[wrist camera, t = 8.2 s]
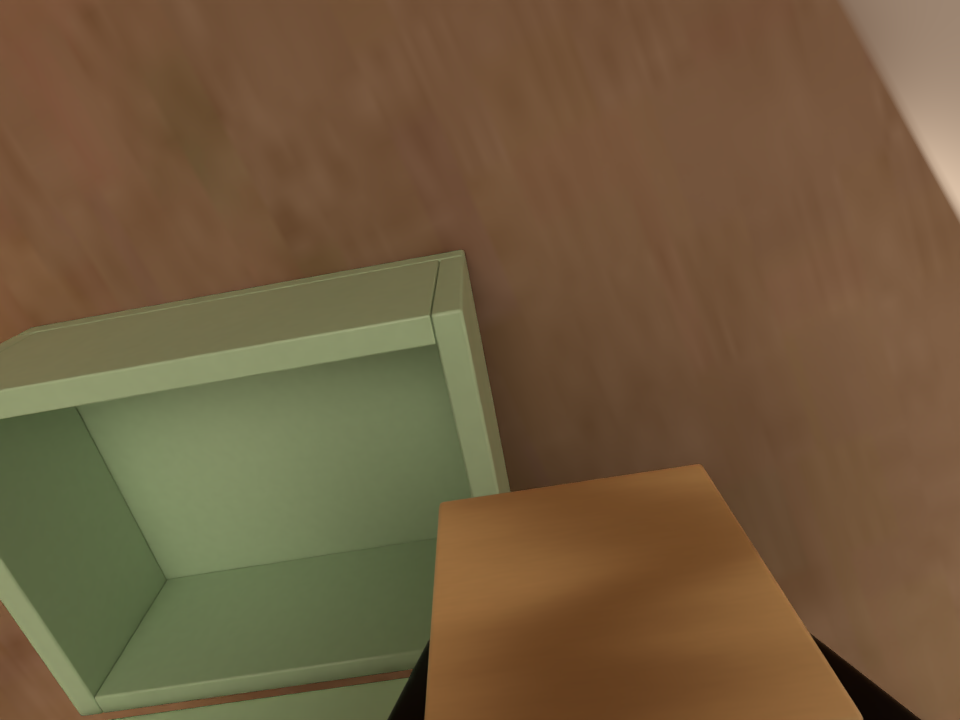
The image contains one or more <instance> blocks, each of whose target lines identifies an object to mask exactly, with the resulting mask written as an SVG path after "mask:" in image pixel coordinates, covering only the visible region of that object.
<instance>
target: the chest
mask: <svg viewBox="0 0 960 720" xmlns="http://www.w3.org/2000/svg"><path fill="white" fill-rule="evenodd" d="M506 492H510V487H509V482H508V476H507V471H506V466H505V461H504V456H503V450H502V445H501V440H500V435H499V430H498V424H497V419H496V414H495V409H494V403H493V398H492V393H491V388H490V383H489V377H488V372H487V367H486V362H485V357H484V351H483V346H482V341H481V336H480V330H479V325H478V320H477V315H476V310H475V304H474V299H473V294H472V289H471V283H470V278H469V273H468V268H467V263H466V257H465V252H464V251H463V250H457V251H452V252H446V253H441V254H435V255H430V256H424V257H419V258H413V259H408V260H402V261H397V262H391V263H386V264H380V265H375V266H369V267H364V268H358V269H352V270H347V271H341V272H336V273H330V274H325V275H319V276H314V277H308V278H303V279H297V280H292V281H286V282H281V283H275V284H270V285H264V286H259V287H253V288H248V289H242V290H237V291H231V292H225V293H220V294H214V295H209V296H203V297H198V298H192V299H187V300H181V301H176V302H170V303H165V304H159V305H154V306H148V307H143V308H137V309H132V310H126V311H121V312H115V313H110V314H104V315H99V316H93V317H87V318H82V319H76V320H71V321H65V322H60V323H54V324H49V325H43V326H38V327H32V328H30V329H28V330H26V331H24V332H22V333H20V334H19V335H17V336H14V337H12V338H11V339H9V340H7V341H5V342H3V343H1V344H0V600H1V601H2V603H3V604H4V605H5V607H6V608H7V610H8V611H9V613H10V614H11V616H12V617H13V618H14V620H15V621H16V623H17V624H18V626H19V627H20V628H21V630H22V631H23V633H24V634H25V636H26V637H27V639H28V640H29V641H30V643H31V644H32V646H33V647H34V649H35V650H36V651H37V653H38V654H39V656H40V657H41V659H42V660H43V662H44V663H45V664H46V666H47V667H48V669H49V670H50V672H51V673H52V674H53V676H54V677H55V679H56V680H57V682H58V683H59V685H60V686H61V687H62V689H63V690H64V692H65V693H66V695H67V696H68V697H69V699H70V700H71V702H72V703H73V705H74V706H75V708H76V709H77V710H78V712H79V713H80V715H82V716H86V715H93V714H100V713H103V712H105V713H107V712H114V711H121V710H128V709H135V708H142V707H149V706H156V705H163V704H170V703H177V702H184V701H191V700H198V699H205V698H212V697H219V696H226V695H233V694H241V693H248V692H255V691H262V690H269V689H276V688H283V687H290V686H297V685H304V684H311V683H318V682H325V681H332V680H339V679H346V678H353V677H360V676H367V675H374V674H381V673H388V672H396V671H403V670H410V669H414V667H415V665H416V663H417V661H418V659H419V657H420V655H421V653H422V652H423V650H424V648H425V646H426V644H427V642H428V640H429V639H430V630H431V616H432V601H433V587H434V572H435V558H436V543H437V529H438V514H439V505H440V503H442V502H446V501H453V500H459V499H466V498H473V497H479V496H486V495H493V494H499V493H506Z"/></svg>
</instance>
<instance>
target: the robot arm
mask: <svg viewBox="0 0 960 720" xmlns="http://www.w3.org/2000/svg"><path fill="white" fill-rule="evenodd" d="M810 635H811V636H812V638H813V640H814V641H815V643H816V644H817V646H818V647H819V649H820V651H821V652H822V654H823V655H824V657H825V658H826V660H827V661H828V663H829V665H830V666H831V668H832V669H833V671H834V672H835V674H836V676H837V677H838V679H839V680H840V682H841V683H842V685H843V686H844V688H845V690H846V691H847V693H848V694H849V696H850V697H851V699H852V701H853V702H854V704H855V705H856V707H857V708H858V710H859V712H860V713H861V715H862V717H863V720H920V719H919V718H918V717H917V716H915V715H914V714H913V713H912V712H910V711H909V710H908V709H906V708H905V707H904V706H903V705H901V704H900V703H899V702H897V701H896V700H895V699H894V698H892V697H891V696H890V695H888V694H887V693H886V692H885V691H883V690H882V689H881V688H879V687H878V686H877V685H876V684H874V683H873V682H872V681H871V680H869V679H868V678H867V677H865V676H864V675H863V674H862V673H860V672H859V671H858V670H856V669H855V668H854V667H853V666H851V665H850V664H849V663H847V662H846V661H845V660H844V659H842V658H841V657H840V656H839V655H837V654H836V653H835V652H833V651H832V650H831V649H830V648H828V647H827V646H826V645H824V644H823V643H822V642H821V641H819V640H818V639H817V638H815V637H814V636H813V635H812V634H810ZM429 645H430V639H429V640H428V642H427V644H426V646H425V648H424V650H423V652H422V653H421V655H420V657H419V659H418V661H417V663H416V665H415V667H414V669H413V671H412V673H411V675H410V677H409V679H408V680H407V682H406V684H405V686H404V688H403V690H402V692H401V694H400V696H399V698H398V700H397V702H396V704H395V706H394V707H393V709H392V711H391V713H390V715H389V717H388V719H387V720H424V718H425V703H426V688H427V674H428V659H429Z"/></svg>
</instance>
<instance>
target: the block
mask: <svg viewBox="0 0 960 720" xmlns="http://www.w3.org/2000/svg"><path fill="white" fill-rule="evenodd" d="M424 720H863V717H862V715H861V713H860V712H859V710H858V708H857V707H856V705H855V704H854V702H853V701H852V699H851V697H850V696H849V694H848V693H847V691H846V690H845V688H844V686H843V685H842V683H841V682H840V680H839V679H838V677H837V676H836V674H835V672H834V671H833V669H832V668H831V666H830V665H829V663H828V661H827V660H826V658H825V657H824V655H823V654H822V652H821V651H820V649H819V647H818V646H817V644H816V643H815V641H814V640H813V638H812V636H811V635H810V633H809V632H808V630H807V629H806V627H805V626H804V624H803V622H802V621H801V619H800V618H799V616H798V615H797V613H796V611H795V610H794V608H793V607H792V605H791V604H790V602H789V600H788V599H787V597H786V596H785V594H784V593H783V591H782V590H781V588H780V586H779V585H778V583H777V582H776V580H775V579H774V577H773V575H772V574H771V572H770V571H769V569H768V568H767V566H766V565H765V563H764V561H763V560H762V558H761V557H760V555H759V554H758V552H757V550H756V549H755V547H754V546H753V544H752V543H751V541H750V539H749V538H748V536H747V535H746V533H745V532H744V530H743V529H742V527H741V525H740V524H739V522H738V521H737V519H736V518H735V516H734V514H733V513H732V511H731V510H730V508H729V507H728V505H727V504H726V502H725V500H724V499H723V497H722V496H721V494H720V493H719V491H718V489H717V488H716V486H715V485H714V483H713V482H712V480H711V478H710V477H709V475H708V474H707V472H706V471H705V469H704V468H703V466H702V465H701V464H694V465H687V466H680V467H673V468H667V469H660V470H653V471H647V472H640V473H633V474H627V475H620V476H613V477H606V478H600V479H593V480H586V481H580V482H573V483H566V484H560V485H553V486H546V487H540V488H533V489H526V490H519V491H513V492H506V493H499V494H493V495H486V496H479V497H473V498H466V499H459V500H453V501H446V502H442V503H440V505H439V514H438V529H437V543H436V558H435V572H434V587H433V601H432V616H431V630H430V645H429V659H428V674H427V688H426V703H425V718H424Z"/></svg>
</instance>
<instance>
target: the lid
mask: <svg viewBox="0 0 960 720" xmlns="http://www.w3.org/2000/svg"><path fill="white" fill-rule="evenodd" d="M408 679H409V678H402V679H395V680H387V681H380V682H373V683H366V684H359V685H352V686H345V687H338V688H331V689H324V690H317V691H310V692H302V693H295V694H288V695H281V696H274V697H267V698H260V699H253V700H246V701H239V702H232V703H225V704H217V705H210V706H203V707H196V708H189V709H182V710H175V711H168V712H161V713H154V714H147V715H140V716H132V717H125V718H118V719H111V720H387V719H388V717H389V715H390V713H391V711H392V709H393V707H394V706H395V704H396V702H397V700H398V698H399V696H400V694H401V692H402V690H403V688H404V686H405V684H406V682H407V680H408Z"/></svg>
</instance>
